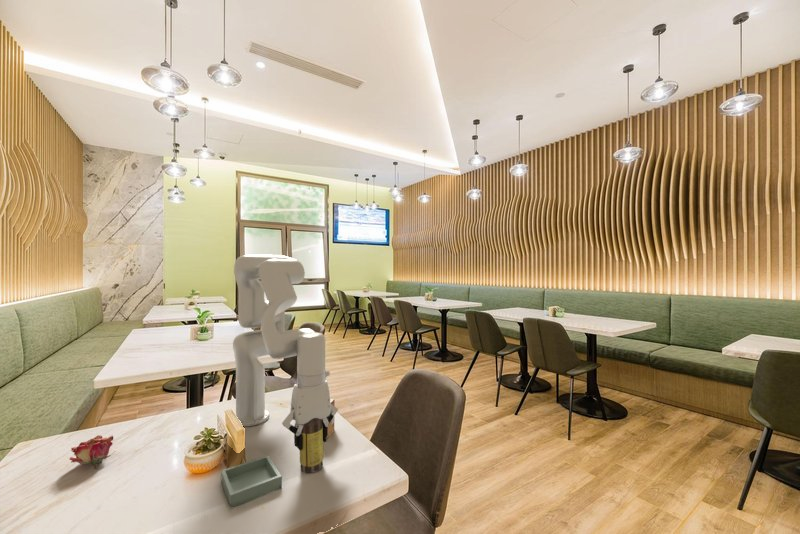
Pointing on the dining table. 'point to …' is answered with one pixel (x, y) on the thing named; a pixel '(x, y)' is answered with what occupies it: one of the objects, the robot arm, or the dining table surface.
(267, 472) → the tray
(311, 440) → the sauce bottle
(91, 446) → the flower
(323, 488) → the dining table surface
